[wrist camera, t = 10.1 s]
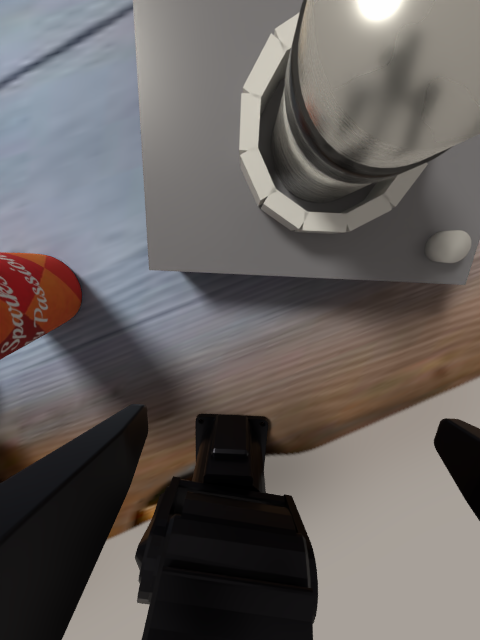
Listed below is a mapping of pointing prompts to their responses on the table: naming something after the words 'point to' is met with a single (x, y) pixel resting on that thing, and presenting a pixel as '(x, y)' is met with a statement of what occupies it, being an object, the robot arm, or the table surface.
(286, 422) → the table surface
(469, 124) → the lens
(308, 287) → the table surface
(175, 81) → the camera body
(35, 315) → the paper cup
